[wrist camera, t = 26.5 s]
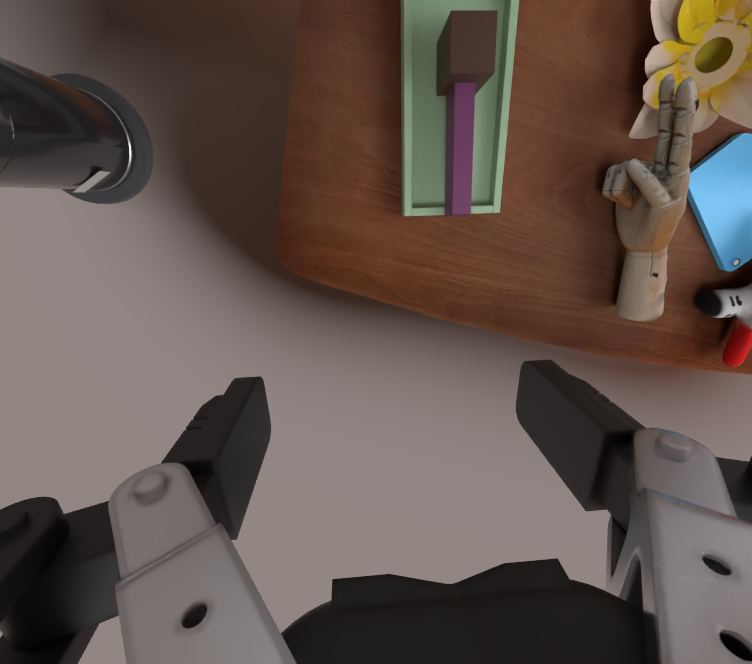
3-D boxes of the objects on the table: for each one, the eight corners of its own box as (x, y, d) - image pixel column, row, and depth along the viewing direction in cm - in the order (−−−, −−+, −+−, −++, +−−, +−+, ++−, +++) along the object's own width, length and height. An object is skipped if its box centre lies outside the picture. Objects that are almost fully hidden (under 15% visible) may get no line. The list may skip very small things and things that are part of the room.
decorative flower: (643, -51, 31) (796, -138, 22) (730, -36, 34) (894, -108, 25) (602, 141, 37) (707, 132, 29) (677, 139, 40) (793, 130, 32)
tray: (401, 215, 39) (404, 216, 38) (400, -19, 32) (403, -34, 30) (492, 212, 40) (499, 212, 38) (512, -19, 33) (522, -33, 31)
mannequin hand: (582, 315, 45) (599, 91, 35) (628, 299, 47) (657, 78, 36) (633, 336, 39) (674, 70, 28) (684, 317, 40) (741, 56, 30)
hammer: (435, 216, 38) (447, 213, 33) (436, 42, 33) (450, 10, 29) (471, 215, 38) (488, 212, 33) (477, 42, 34) (498, 9, 29)
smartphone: (678, 177, 40) (721, 273, 45) (687, 177, 39) (730, 275, 44) (741, 129, 38) (779, 233, 43) (753, 127, 37) (790, 235, 42)
